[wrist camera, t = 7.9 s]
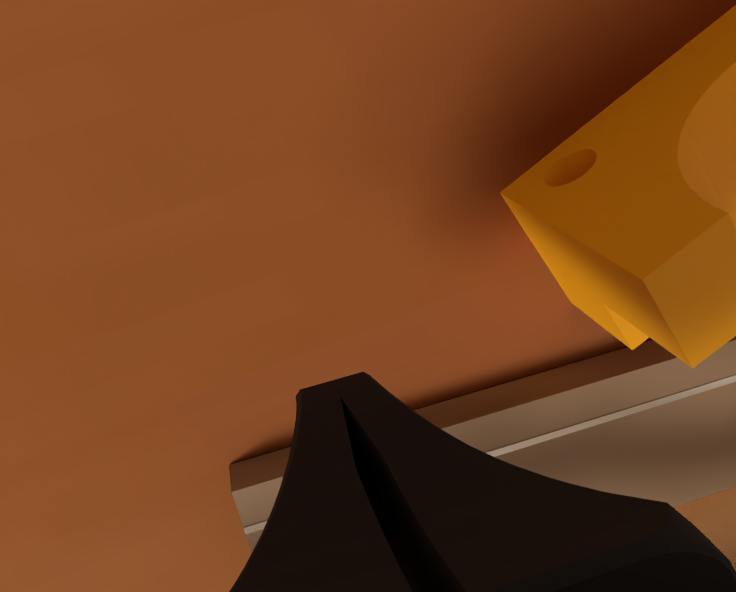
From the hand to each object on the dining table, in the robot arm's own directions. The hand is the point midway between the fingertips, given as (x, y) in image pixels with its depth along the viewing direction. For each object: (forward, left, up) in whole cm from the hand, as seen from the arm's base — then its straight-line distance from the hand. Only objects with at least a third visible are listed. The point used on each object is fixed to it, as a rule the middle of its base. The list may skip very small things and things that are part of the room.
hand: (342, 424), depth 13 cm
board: (-7, -6, -6) cm, 11 cm away
